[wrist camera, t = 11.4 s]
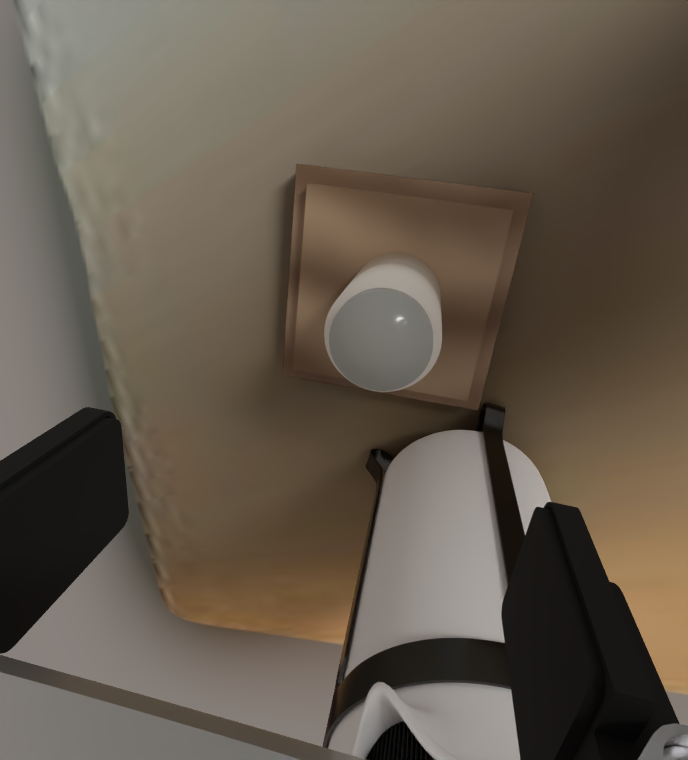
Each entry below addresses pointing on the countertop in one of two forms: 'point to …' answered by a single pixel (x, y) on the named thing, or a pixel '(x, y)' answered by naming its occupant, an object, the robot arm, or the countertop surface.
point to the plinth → (409, 236)
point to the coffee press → (436, 601)
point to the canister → (386, 324)
